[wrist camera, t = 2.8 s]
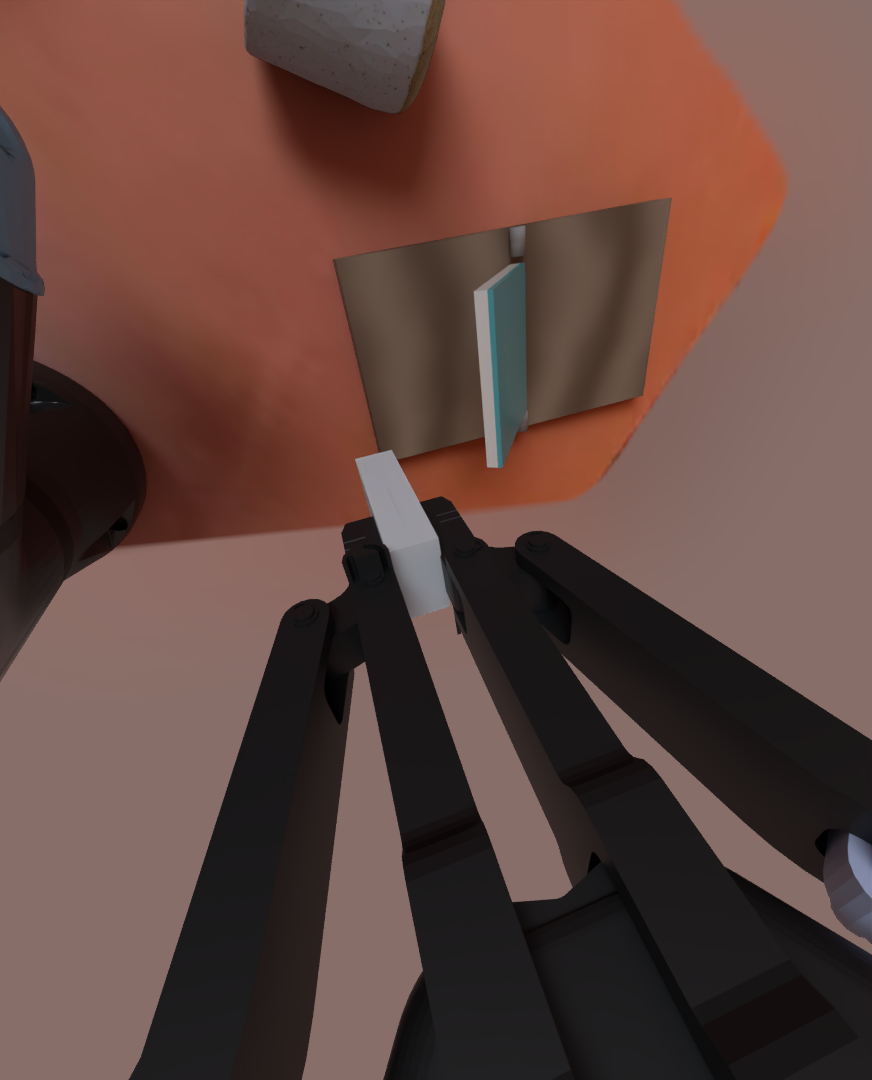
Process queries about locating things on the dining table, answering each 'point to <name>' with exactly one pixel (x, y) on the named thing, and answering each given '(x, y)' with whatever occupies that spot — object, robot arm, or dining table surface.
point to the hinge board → (551, 321)
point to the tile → (502, 359)
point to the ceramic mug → (349, 45)
